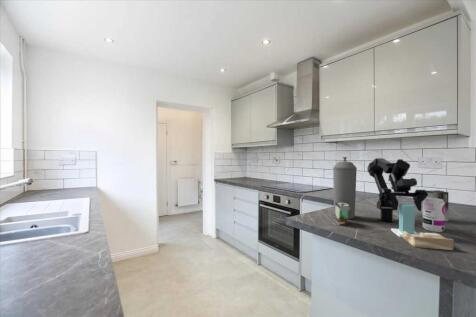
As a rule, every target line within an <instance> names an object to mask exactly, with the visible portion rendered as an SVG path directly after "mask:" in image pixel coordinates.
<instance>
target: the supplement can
mask: <svg viewBox="0 0 476 317" xmlns="http://www.w3.org/2000/svg"><path fill="white" fill-rule="evenodd" d="M421 218H422V222H421V223H422V228H423V229H424V230H426V231H430V232H433V233H443V231H445V222H446V221H445V202H444V201H443V199H439V198H425V200H424V201H422V217H421Z"/></svg>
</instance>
